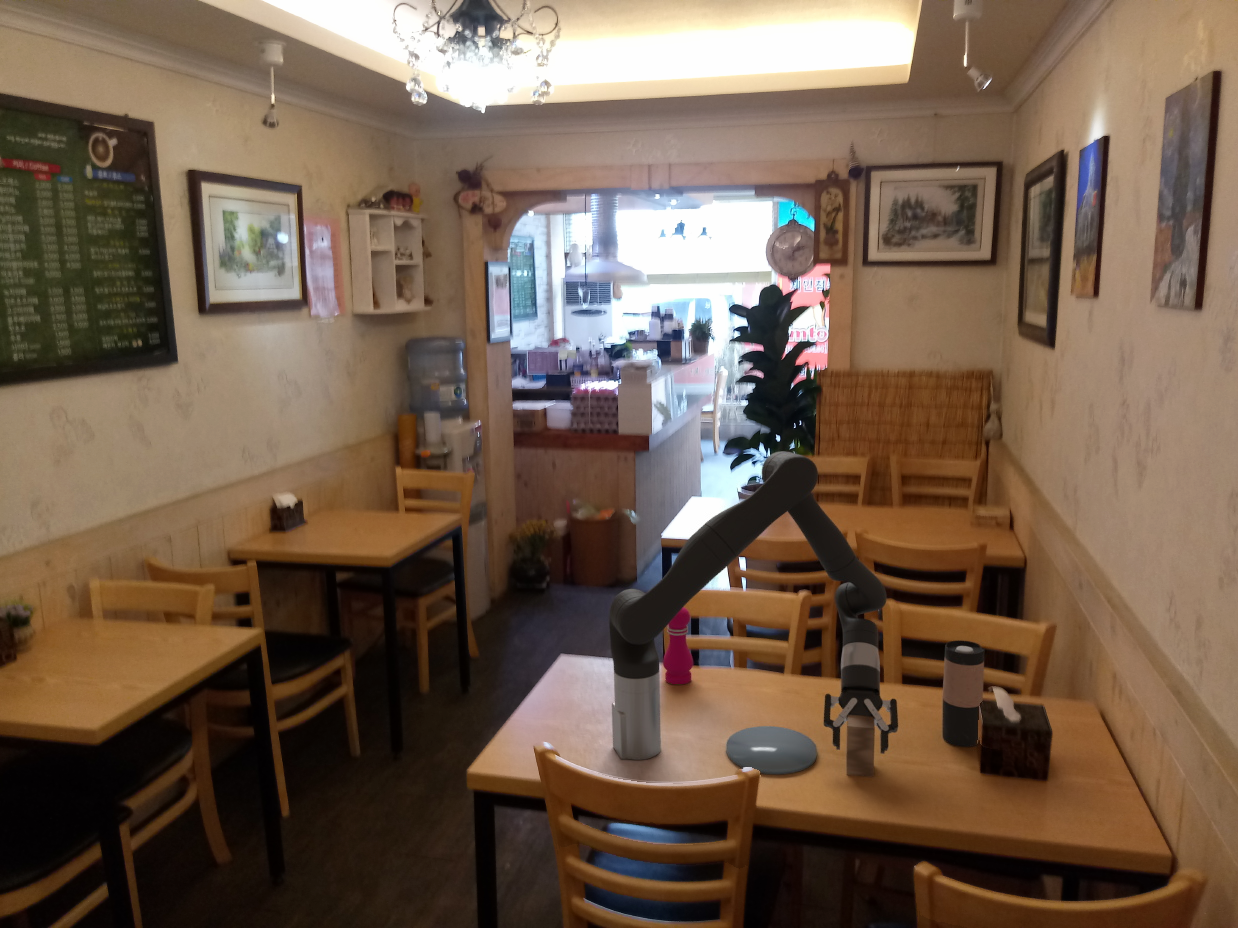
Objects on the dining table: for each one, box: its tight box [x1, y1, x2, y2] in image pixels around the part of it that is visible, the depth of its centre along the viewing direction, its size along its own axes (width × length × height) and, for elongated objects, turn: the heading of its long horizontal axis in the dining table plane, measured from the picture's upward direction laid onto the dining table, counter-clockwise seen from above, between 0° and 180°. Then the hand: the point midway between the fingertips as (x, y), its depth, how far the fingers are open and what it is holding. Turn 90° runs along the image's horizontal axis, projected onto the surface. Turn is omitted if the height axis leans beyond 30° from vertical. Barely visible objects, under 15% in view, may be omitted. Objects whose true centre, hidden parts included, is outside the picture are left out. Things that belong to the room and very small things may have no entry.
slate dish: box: [725, 725, 818, 775], centre depth 188 cm, size 18×18×1 cm
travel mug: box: [941, 639, 986, 748], centre depth 190 cm, size 8×8×20 cm
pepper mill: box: [662, 606, 694, 685], centre depth 223 cm, size 7×7×20 cm
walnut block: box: [845, 715, 876, 778], centre depth 180 cm, size 5×5×10 cm
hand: (860, 750), depth 178 cm, fingers open, 8 cm apart
